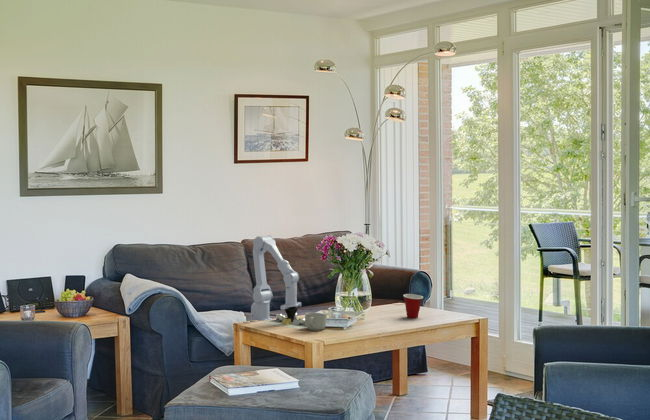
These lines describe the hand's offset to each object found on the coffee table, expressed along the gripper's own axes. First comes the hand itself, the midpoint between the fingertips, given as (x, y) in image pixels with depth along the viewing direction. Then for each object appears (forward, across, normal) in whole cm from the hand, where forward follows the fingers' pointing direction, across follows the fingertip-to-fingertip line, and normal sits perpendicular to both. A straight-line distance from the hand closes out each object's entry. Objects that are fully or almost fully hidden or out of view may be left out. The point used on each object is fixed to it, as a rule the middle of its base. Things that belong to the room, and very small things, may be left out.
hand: (290, 321), depth 437 cm
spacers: (+1, +6, 0) cm, 6 cm away
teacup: (+1, -5, -19) cm, 20 cm away
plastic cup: (+1, +58, -38) cm, 69 cm away
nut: (+1, -4, 0) cm, 4 cm away
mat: (+1, +1, 0) cm, 1 cm away
